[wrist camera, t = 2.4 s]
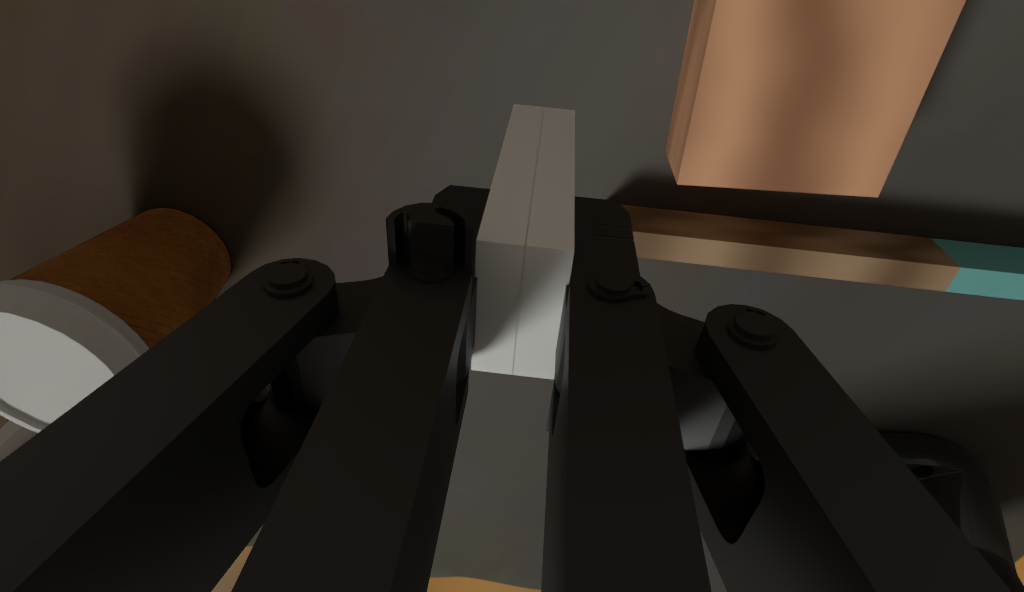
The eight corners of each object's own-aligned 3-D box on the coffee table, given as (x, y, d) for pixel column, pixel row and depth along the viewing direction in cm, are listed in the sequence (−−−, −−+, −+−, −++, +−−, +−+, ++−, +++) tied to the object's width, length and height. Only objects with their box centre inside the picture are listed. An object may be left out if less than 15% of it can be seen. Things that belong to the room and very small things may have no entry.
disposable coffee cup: (134, 150, 32) (-56, 261, 23) (281, 249, 35) (170, 384, 26) (88, 253, 37) (-86, 381, 27) (221, 332, 40) (108, 473, 30)
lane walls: (1174, -177, 21) (1254, -186, 18) (916, 260, 32) (945, 291, 29) (680, -218, 21) (694, -232, 19) (598, 226, 32) (600, 252, 30)
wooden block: (918, -43, 24) (979, -32, 20) (840, 159, 29) (878, 197, 25) (703, -51, 24) (725, -42, 21) (664, 148, 30) (676, 184, 26)
